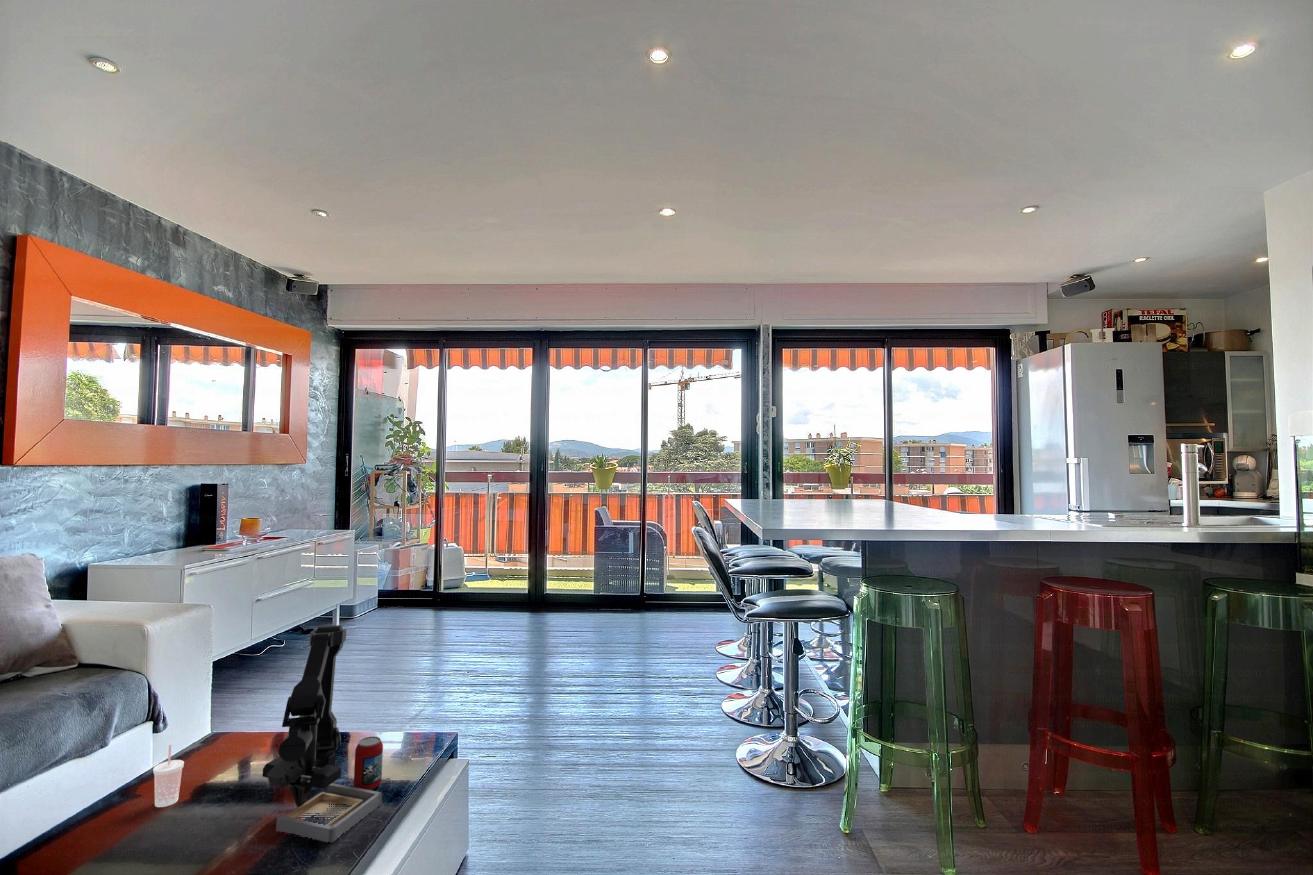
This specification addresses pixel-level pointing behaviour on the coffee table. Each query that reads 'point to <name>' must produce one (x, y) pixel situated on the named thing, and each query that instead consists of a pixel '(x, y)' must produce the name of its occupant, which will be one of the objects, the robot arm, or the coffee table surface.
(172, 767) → the beverage cup
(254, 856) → the coffee table surface
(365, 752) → the beverage can
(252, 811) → the coffee table surface
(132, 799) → the coffee table surface
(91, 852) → the coffee table surface
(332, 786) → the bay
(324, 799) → the tray
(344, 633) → the robot arm
